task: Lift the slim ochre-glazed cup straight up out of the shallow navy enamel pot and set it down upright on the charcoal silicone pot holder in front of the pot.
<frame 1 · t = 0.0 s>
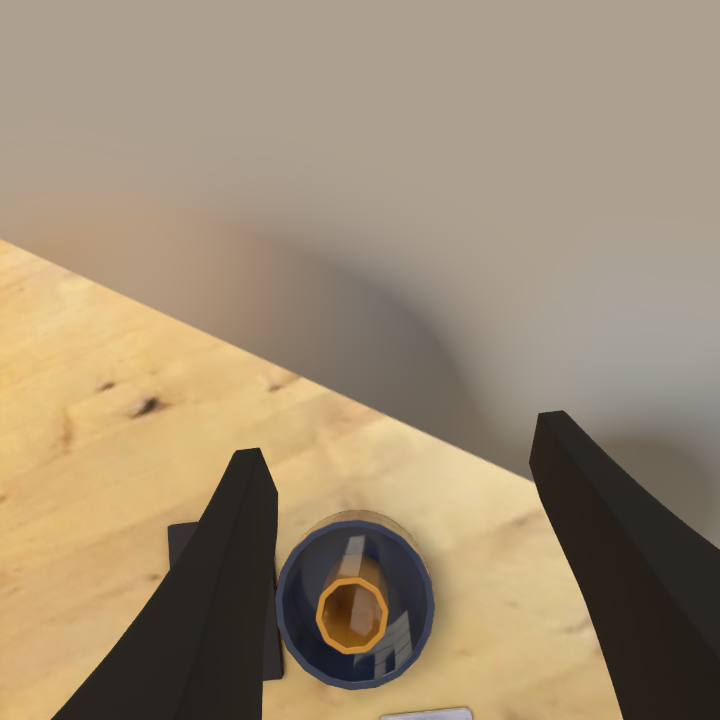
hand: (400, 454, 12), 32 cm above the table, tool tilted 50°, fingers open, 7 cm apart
pot: (357, 582, 42), on the table
cup: (357, 584, 42), point 1 cm above the table, touching pot
pot holder: (225, 597, 43), on the table
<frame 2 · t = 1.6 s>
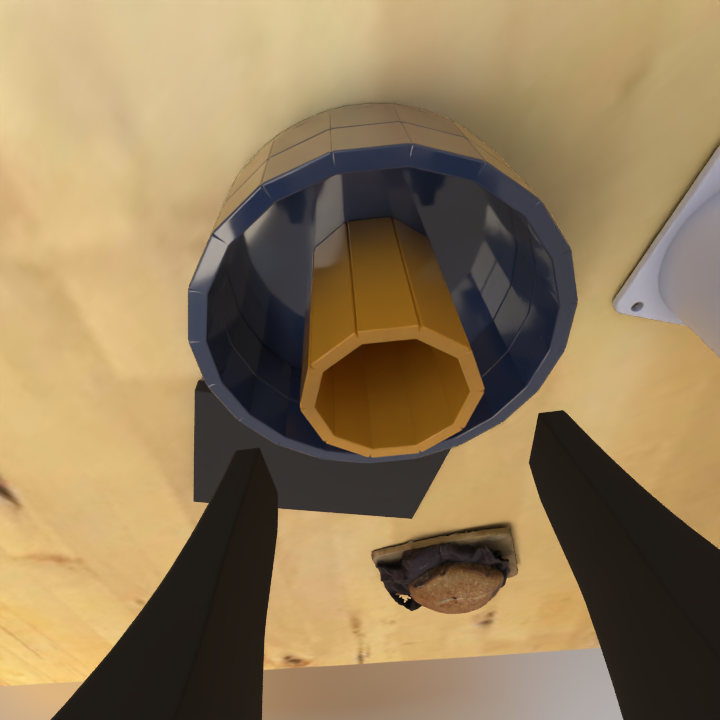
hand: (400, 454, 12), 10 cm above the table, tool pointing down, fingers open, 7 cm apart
pot: (372, 272, 20), on the table
cup: (373, 279, 19), point 1 cm above the table, touching pot
pot holder: (321, 454, 27), on the table
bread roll: (445, 556, 36), on the table
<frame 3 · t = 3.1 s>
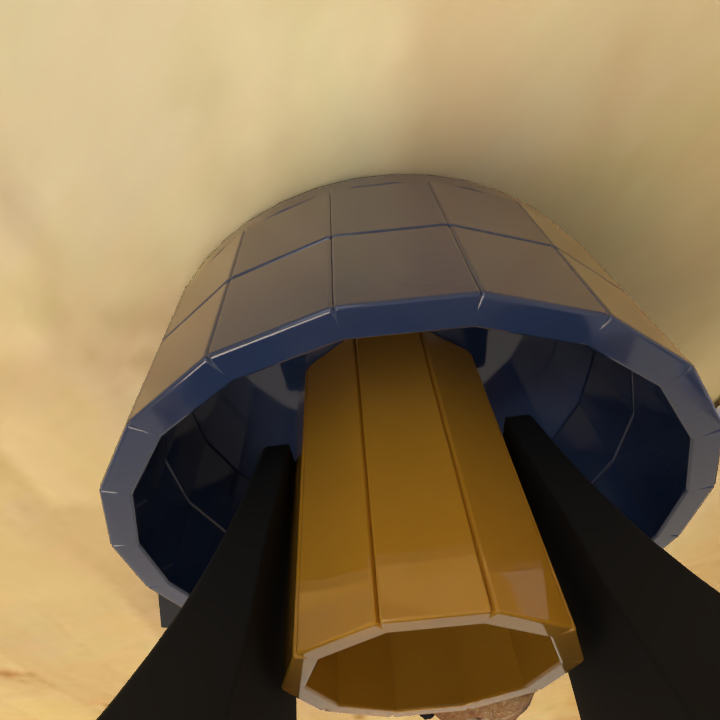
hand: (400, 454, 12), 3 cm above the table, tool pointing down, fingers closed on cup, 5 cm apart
pot: (388, 387, 14), on the table
cup: (390, 400, 14), point 1 cm above the table, touching gripper, pot
pot holder: (318, 573, 22), on the table
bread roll: (465, 657, 31), on the table
when the fingers open (3 cm above the table, at t = 7.9 s): cup stays where it is, resting on pot holder.
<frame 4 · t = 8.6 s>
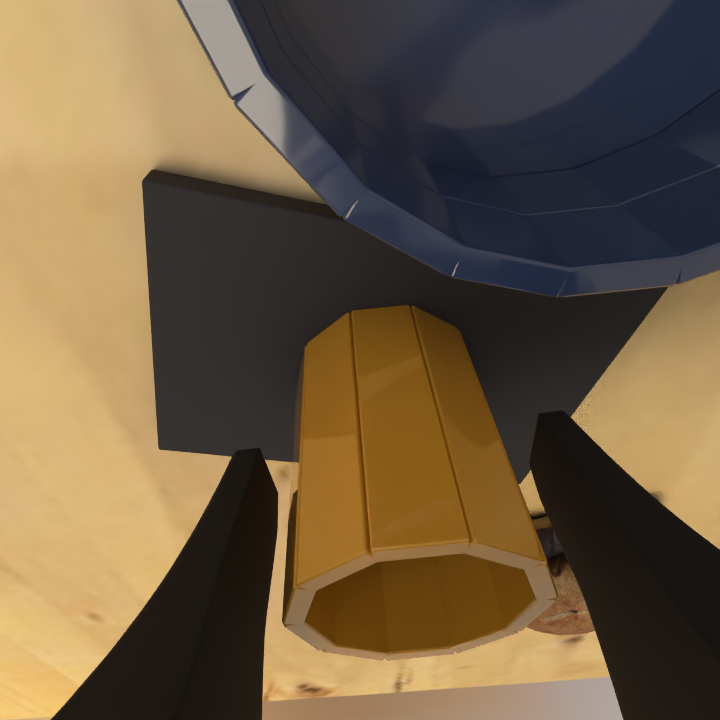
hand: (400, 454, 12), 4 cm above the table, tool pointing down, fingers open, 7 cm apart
cup: (384, 376, 15), point 1 cm above the table, touching pot holder
pot holder: (383, 360, 15), on the table
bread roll: (545, 548, 25), on the table
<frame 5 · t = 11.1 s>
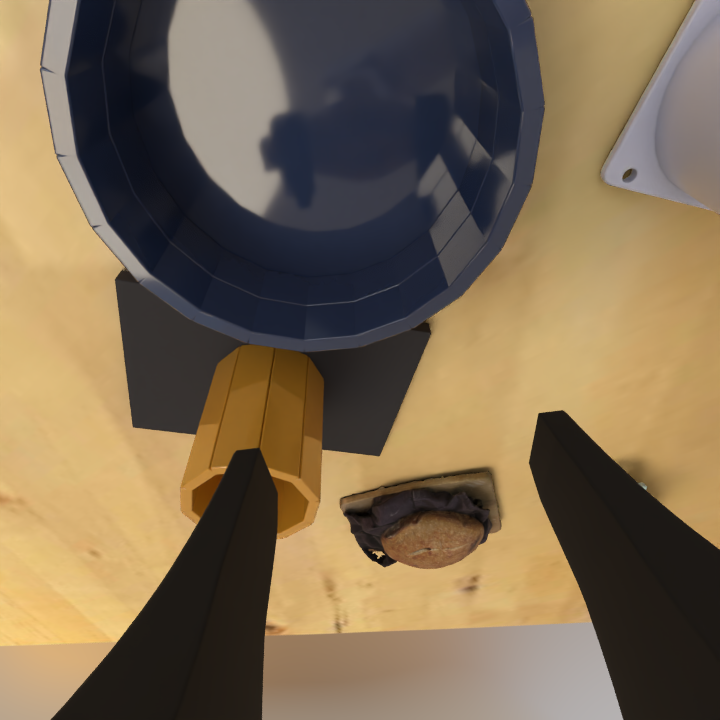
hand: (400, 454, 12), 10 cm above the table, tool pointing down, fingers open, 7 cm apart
pot: (311, 122, 16), on the table
cup: (269, 383, 23), point 1 cm above the table, touching pot holder
pot holder: (272, 373, 24), on the table
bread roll: (422, 508, 33), on the table
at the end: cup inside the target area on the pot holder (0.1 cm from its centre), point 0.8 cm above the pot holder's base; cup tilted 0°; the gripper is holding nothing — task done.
